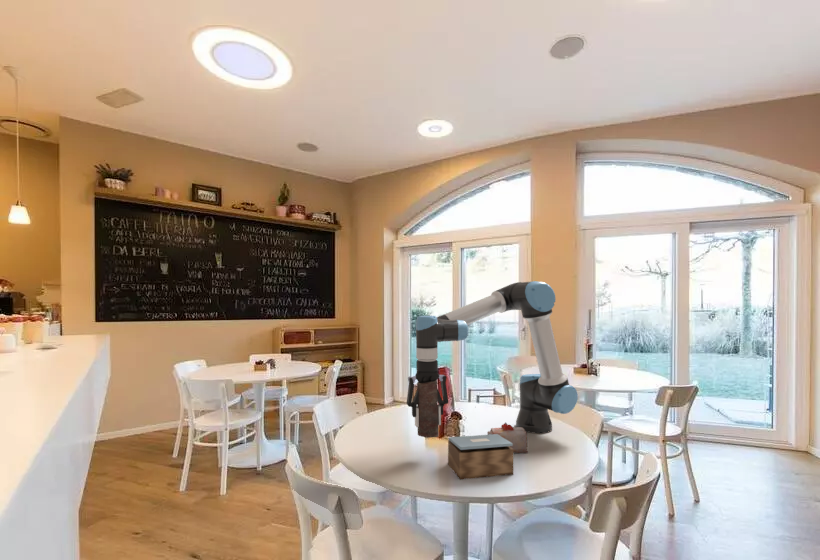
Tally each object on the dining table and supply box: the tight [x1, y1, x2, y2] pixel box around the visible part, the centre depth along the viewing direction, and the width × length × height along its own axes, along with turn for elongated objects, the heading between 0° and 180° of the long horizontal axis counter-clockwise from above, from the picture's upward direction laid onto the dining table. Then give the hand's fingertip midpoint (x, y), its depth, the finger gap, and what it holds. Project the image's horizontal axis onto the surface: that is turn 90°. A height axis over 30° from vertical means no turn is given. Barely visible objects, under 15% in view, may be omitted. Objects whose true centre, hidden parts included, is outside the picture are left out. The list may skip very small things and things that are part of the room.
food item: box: [486, 422, 529, 454], centre depth 152 cm, size 14×8×10 cm, turn 94°
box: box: [447, 439, 514, 481], centre depth 136 cm, size 18×12×8 cm, turn 103°
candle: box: [416, 380, 439, 439], centre depth 145 cm, size 8×7×20 cm
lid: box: [448, 434, 513, 450], centre depth 136 cm, size 18×12×1 cm
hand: (427, 424), depth 145 cm, fingers closed on candle, 7 cm apart
